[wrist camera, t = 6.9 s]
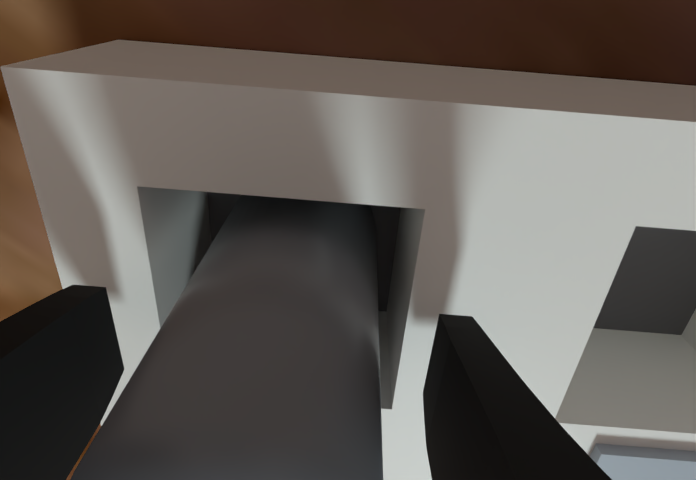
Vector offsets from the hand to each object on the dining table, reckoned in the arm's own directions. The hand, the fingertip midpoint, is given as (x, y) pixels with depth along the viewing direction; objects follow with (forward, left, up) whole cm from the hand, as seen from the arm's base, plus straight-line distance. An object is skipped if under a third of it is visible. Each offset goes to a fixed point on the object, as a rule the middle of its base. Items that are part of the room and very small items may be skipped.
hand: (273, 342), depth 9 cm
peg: (0, 0, -5) cm, 5 cm away
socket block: (-4, +1, -5) cm, 7 cm away
